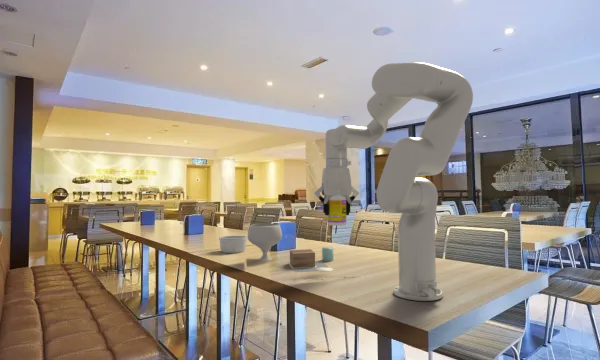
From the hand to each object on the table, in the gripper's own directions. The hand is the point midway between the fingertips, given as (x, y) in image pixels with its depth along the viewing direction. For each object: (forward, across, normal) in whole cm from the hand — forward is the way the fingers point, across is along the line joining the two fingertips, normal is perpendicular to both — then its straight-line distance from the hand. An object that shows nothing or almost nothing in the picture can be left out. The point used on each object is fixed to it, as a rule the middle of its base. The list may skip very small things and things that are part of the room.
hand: (336, 214), depth 123 cm
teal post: (+20, 0, -15) cm, 25 cm away
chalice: (+20, +24, -22) cm, 39 cm away
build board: (+20, +9, -5) cm, 22 cm away
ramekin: (+21, +37, -52) cm, 68 cm away
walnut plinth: (+19, +11, -8) cm, 23 cm away
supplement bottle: (+4, 0, 0) cm, 4 cm away
